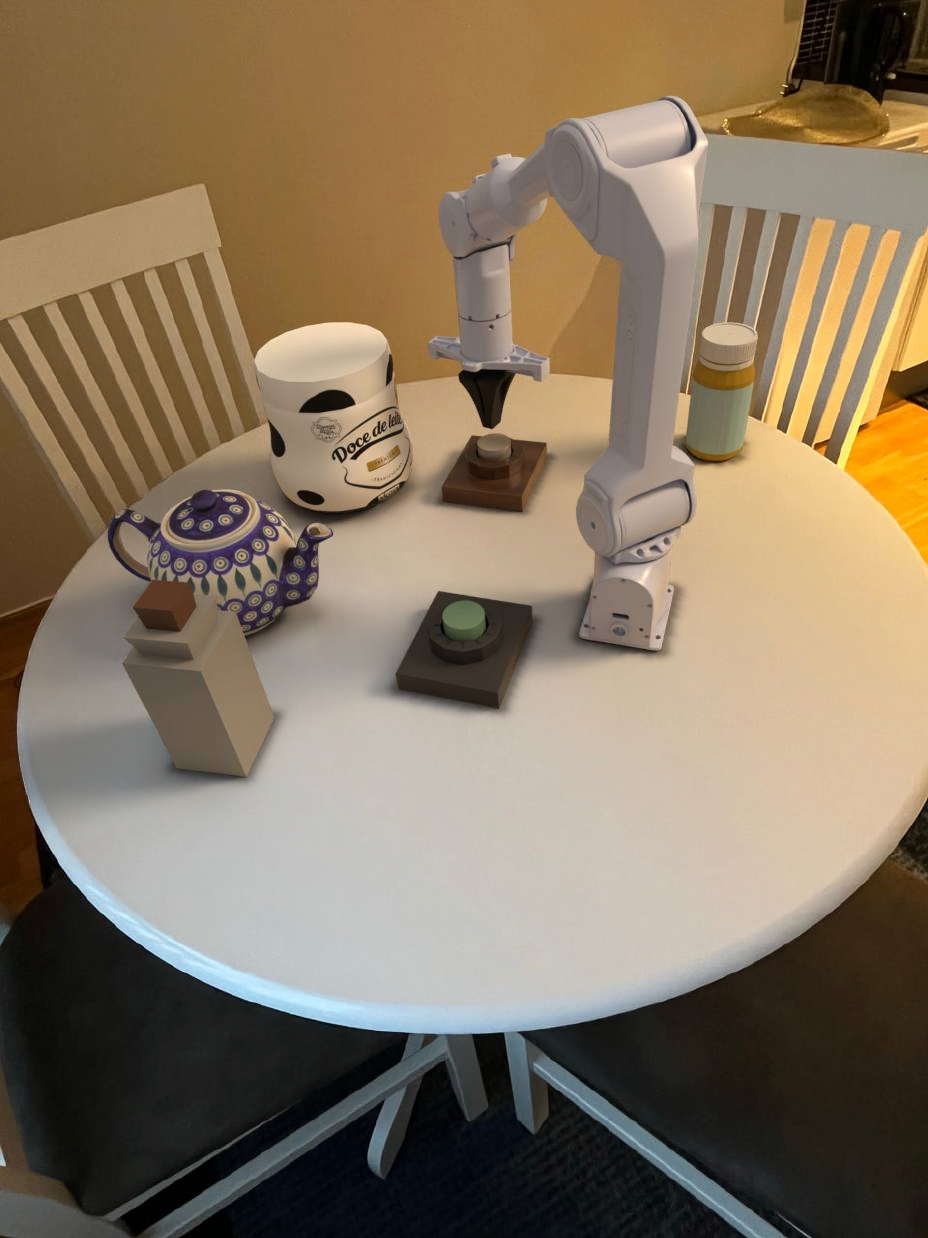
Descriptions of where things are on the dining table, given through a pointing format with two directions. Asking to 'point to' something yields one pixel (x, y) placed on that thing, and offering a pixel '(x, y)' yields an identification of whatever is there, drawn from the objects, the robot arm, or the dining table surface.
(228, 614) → the perfume bottle
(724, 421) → the bottle
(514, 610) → the push button front
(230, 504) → the teapot
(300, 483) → the doce de leite jar
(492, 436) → the grey button cap
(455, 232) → the robot arm
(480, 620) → the green button cap
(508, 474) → the push button back
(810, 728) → the dining table surface
